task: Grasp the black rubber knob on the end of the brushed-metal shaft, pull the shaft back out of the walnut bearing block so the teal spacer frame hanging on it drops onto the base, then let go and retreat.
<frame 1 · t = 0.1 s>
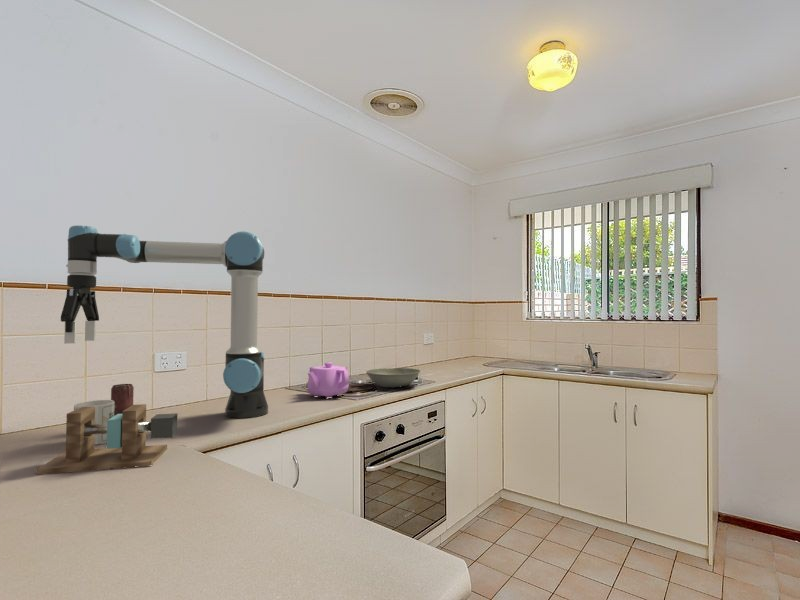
hand: (80, 342, 141), 28 cm above the countertop, fingers open, 13 cm apart
can: (122, 429, 143), on the countertop
teapot: (328, 396, 199), on the countertop
shaft: (130, 427, 114), point 8 cm above the countertop, slide at 0.0 cm, touching spacer
bearing block: (107, 460, 112), on the countertop
spacer: (118, 444, 113), point 4 cm above the countertop, touching shaft
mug: (91, 443, 128), on the countertop
bowl: (393, 387, 225), on the countertop
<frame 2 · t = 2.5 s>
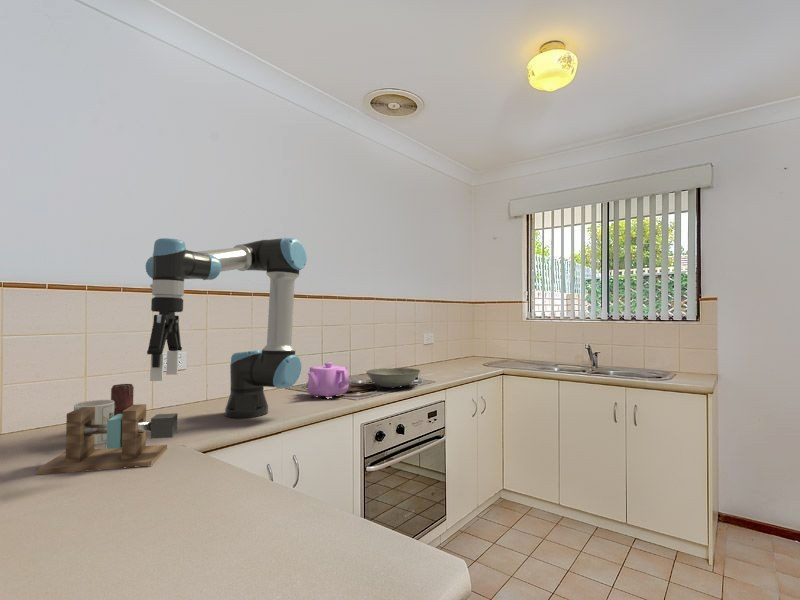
hand: (164, 377, 117), 20 cm above the countertop, fingers open, 13 cm apart
nothing on the countertop moved.
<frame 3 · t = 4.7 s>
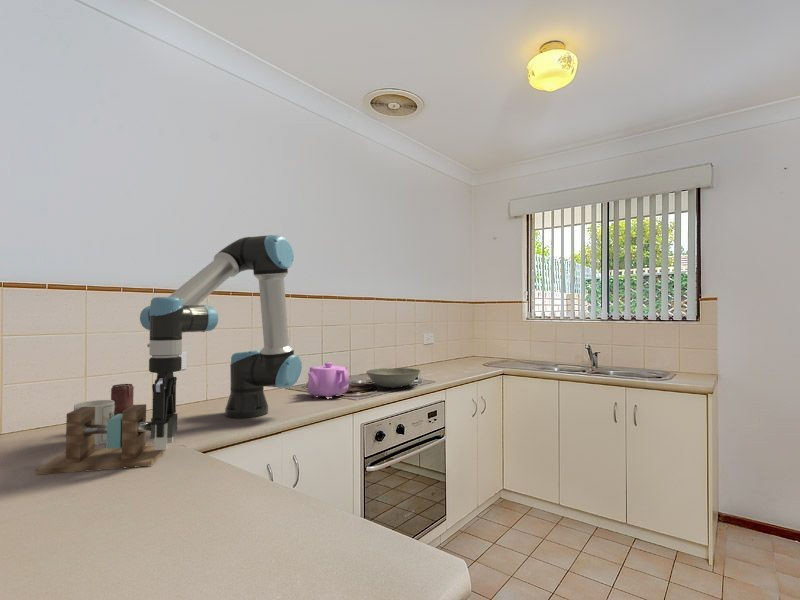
hand: (164, 446, 115), 3 cm above the countertop, fingers closed on shaft, 5 cm apart
shaft: (130, 427, 114), point 8 cm above the countertop, slide at 0.0 cm, touching gripper, spacer
everything else where it was.
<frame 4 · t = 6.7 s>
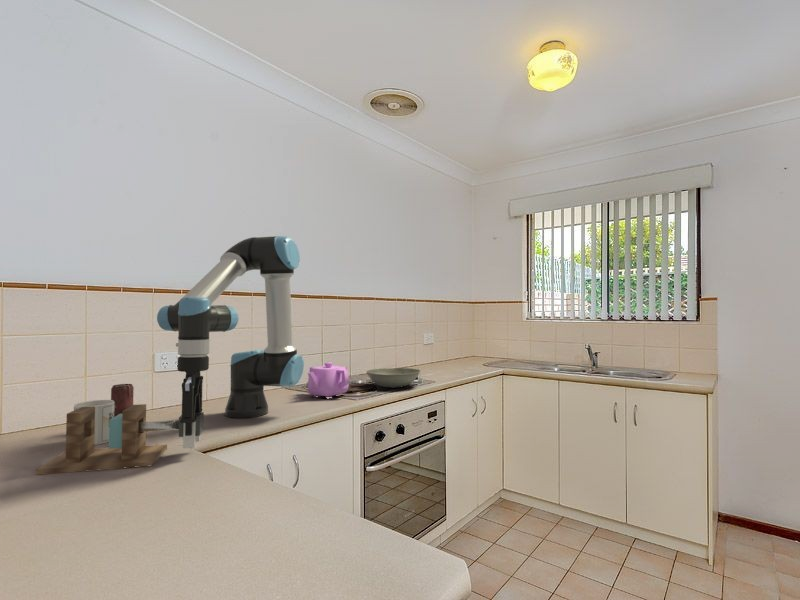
hand: (191, 444, 117), 3 cm above the countertop, fingers closed on shaft, 5 cm apart
shaft: (158, 426, 115), point 8 cm above the countertop, slide at 6.5 cm, touching gripper
spacer: (121, 444, 113), point 4 cm above the countertop, touching bearing block
everything else where it was.
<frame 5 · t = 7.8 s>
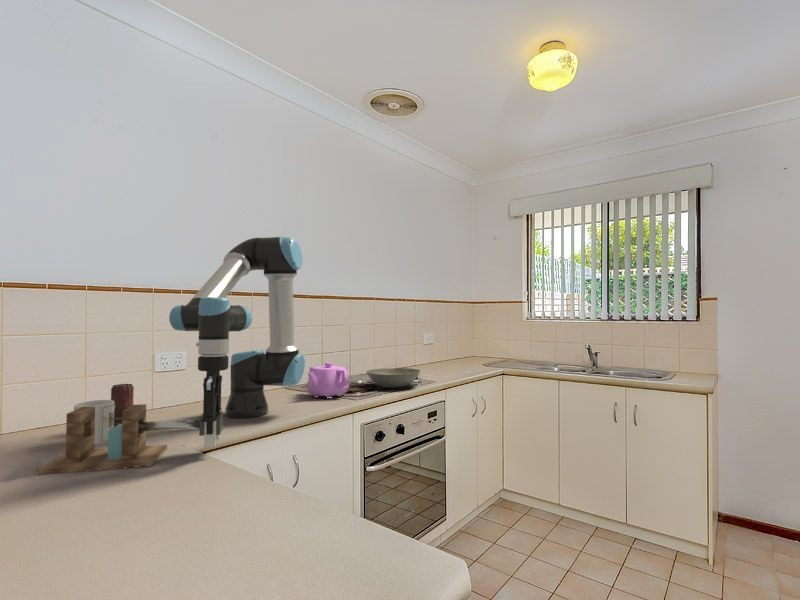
hand: (212, 442, 118), 3 cm above the countertop, fingers closed on shaft, 5 cm apart
shaft: (178, 424, 116), point 8 cm above the countertop, slide at 11.4 cm, touching gripper
spacer: (119, 455, 113), point 1 cm above the countertop, touching bearing block
everything else where it was.
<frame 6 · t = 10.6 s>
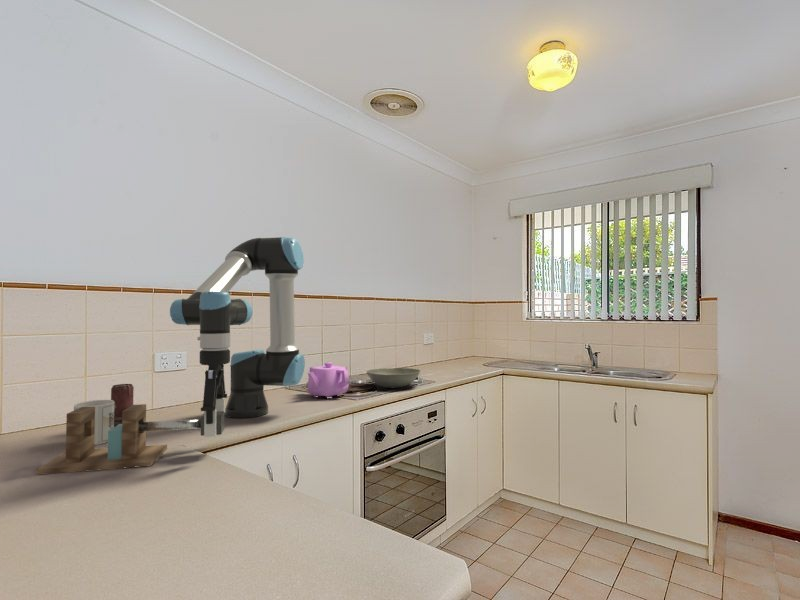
hand: (214, 428, 119), 6 cm above the countertop, fingers open, 13 cm apart
shaft: (180, 424, 116), point 8 cm above the countertop, slide at 11.7 cm
everything else where it was.
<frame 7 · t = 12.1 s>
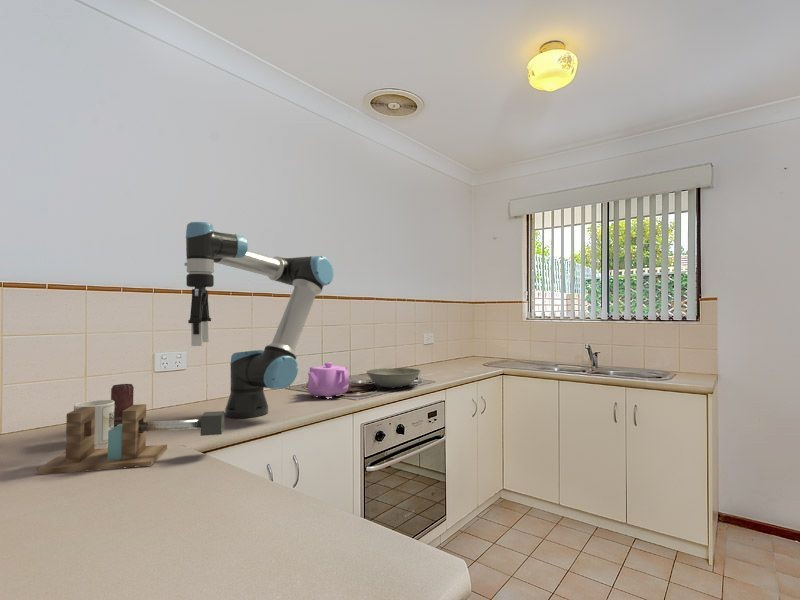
hand: (200, 344, 134), 28 cm above the countertop, fingers open, 13 cm apart
nothing on the countertop moved.
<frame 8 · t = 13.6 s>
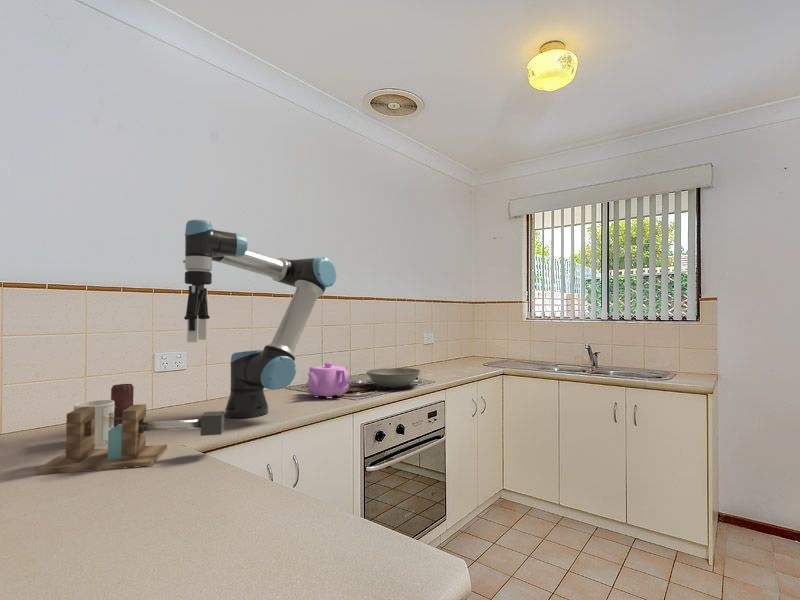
hand: (197, 341, 135), 29 cm above the countertop, fingers open, 13 cm apart
nothing on the countertop moved.
at the end: shaft slide at 11.7 cm; spacer point 1.2 cm above the countertop; the gripper is holding nothing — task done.
